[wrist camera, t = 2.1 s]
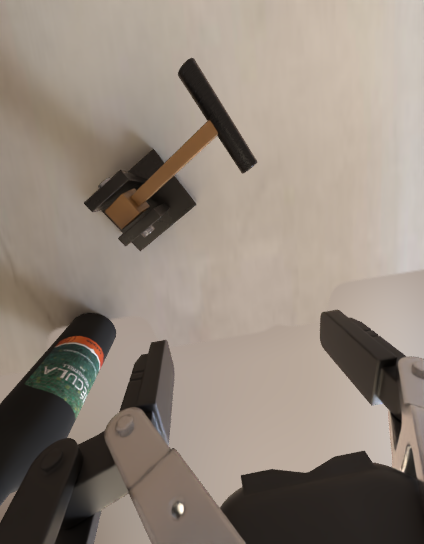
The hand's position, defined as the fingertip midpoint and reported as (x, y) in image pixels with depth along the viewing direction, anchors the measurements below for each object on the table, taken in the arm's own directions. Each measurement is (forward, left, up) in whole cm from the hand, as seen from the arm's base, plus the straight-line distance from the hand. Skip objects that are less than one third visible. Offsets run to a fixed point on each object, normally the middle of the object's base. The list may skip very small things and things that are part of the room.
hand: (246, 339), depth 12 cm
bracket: (-3, +10, -26) cm, 28 cm away
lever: (+2, +10, -13) cm, 16 cm away
